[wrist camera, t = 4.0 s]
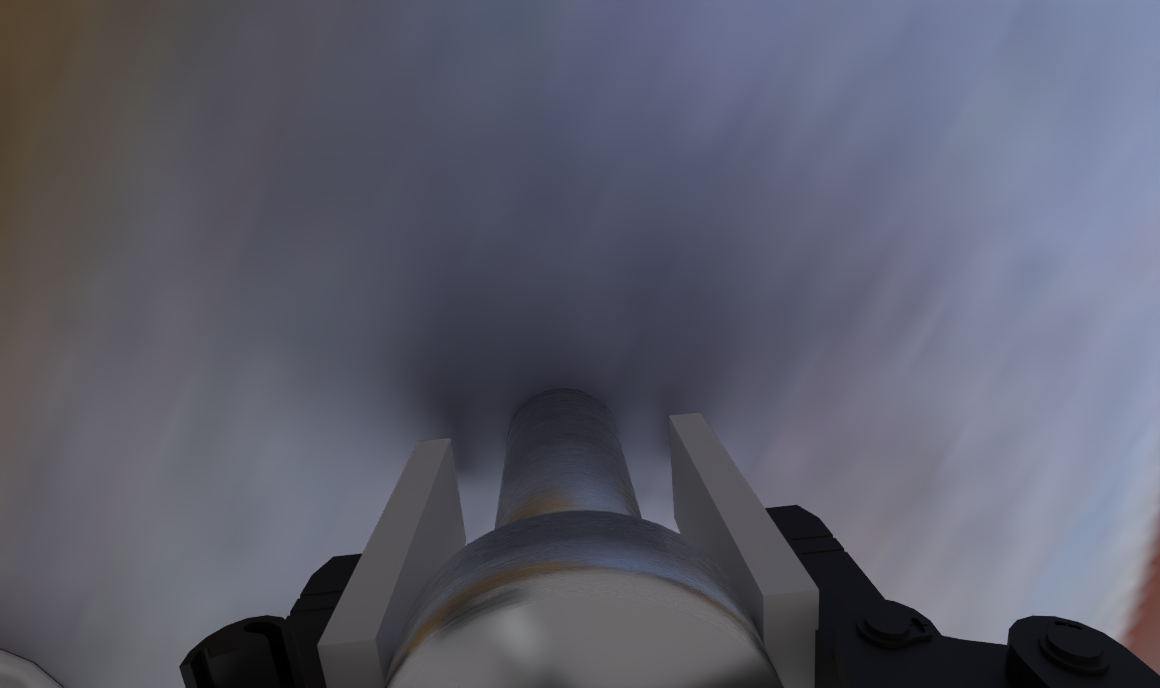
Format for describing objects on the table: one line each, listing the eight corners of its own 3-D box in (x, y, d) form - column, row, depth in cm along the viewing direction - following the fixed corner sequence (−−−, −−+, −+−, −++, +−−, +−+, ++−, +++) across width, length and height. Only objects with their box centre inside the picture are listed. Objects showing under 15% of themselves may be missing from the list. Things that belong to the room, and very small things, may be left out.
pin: (455, 359, 16) (317, 626, 6) (651, 340, 16) (805, 572, 7) (480, 534, 17) (399, 971, 8) (661, 514, 18) (802, 920, 8)
